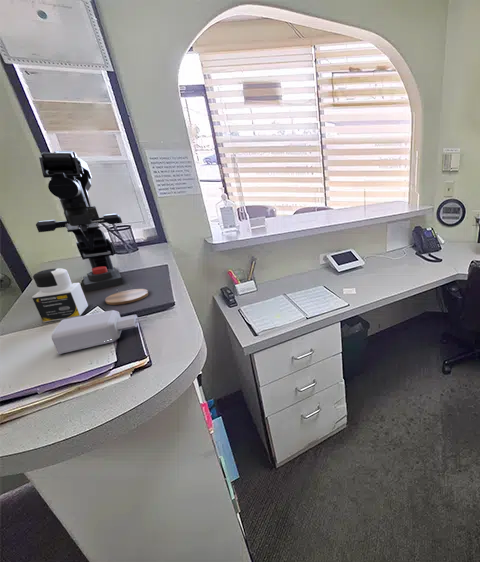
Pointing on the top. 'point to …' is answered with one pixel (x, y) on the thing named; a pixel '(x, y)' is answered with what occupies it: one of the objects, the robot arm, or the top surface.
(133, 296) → the coaster
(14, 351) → the top surface
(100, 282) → the button block
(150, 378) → the top surface
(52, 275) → the medicine bottle
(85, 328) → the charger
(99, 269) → the call button
